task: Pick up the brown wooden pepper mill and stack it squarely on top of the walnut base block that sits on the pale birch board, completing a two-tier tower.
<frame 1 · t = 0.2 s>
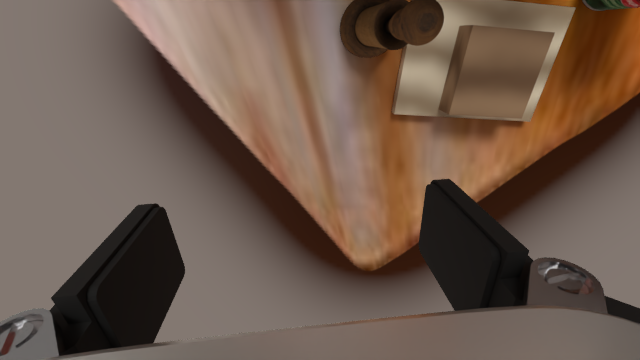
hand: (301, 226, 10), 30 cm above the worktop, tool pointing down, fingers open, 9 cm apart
birch board: (474, 63, 38), on the worktop
brown wooden pepper mill: (366, 27, 35), on the worktop
walnut base block: (484, 72, 37), point 1 cm above the worktop, touching birch board
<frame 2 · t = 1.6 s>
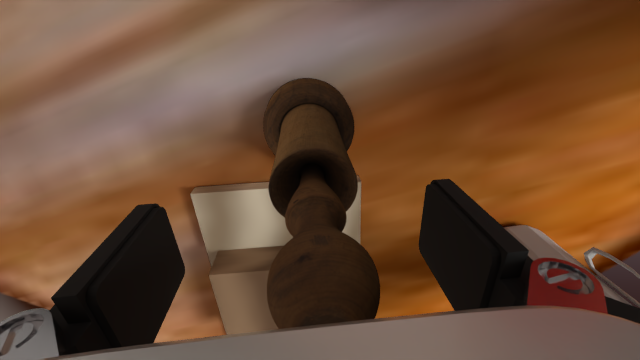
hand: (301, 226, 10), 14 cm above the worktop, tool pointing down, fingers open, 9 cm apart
birch board: (288, 268, 29), on the worktop
water bottle: (511, 242, 30), on the worktop
brown wooden pepper mill: (308, 120, 23), on the worktop
walnut base block: (279, 286, 29), point 1 cm above the worktop, touching birch board
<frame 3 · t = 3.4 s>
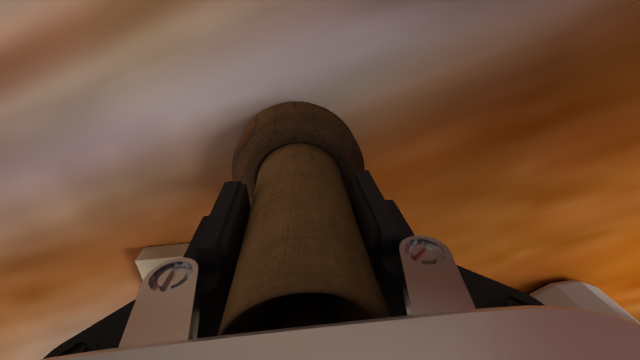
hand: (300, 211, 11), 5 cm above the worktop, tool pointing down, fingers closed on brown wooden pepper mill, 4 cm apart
birch board: (276, 339, 23), on the worktop
water bottle: (557, 298, 24), on the worktop
brown wooden pepper mill: (298, 158, 16), on the worktop, touching gripper
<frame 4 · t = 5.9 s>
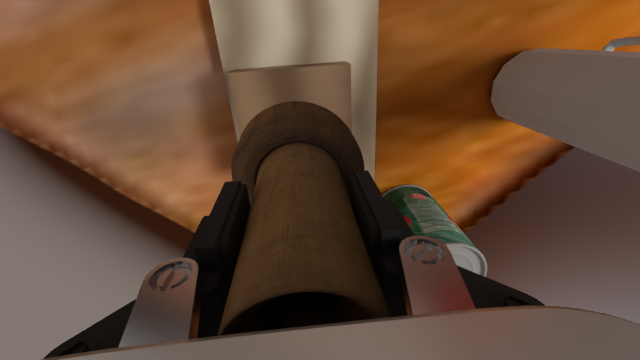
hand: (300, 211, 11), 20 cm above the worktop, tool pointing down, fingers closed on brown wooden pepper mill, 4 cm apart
canned tomato: (402, 211, 36), on the worktop
birch board: (304, 106, 29), on the worktop
water bottle: (526, 77, 30), on the worktop
brown wooden pepper mill: (298, 158, 16), point 14 cm above the worktop, touching gripper
walnut base block: (295, 119, 28), point 1 cm above the worktop, touching birch board
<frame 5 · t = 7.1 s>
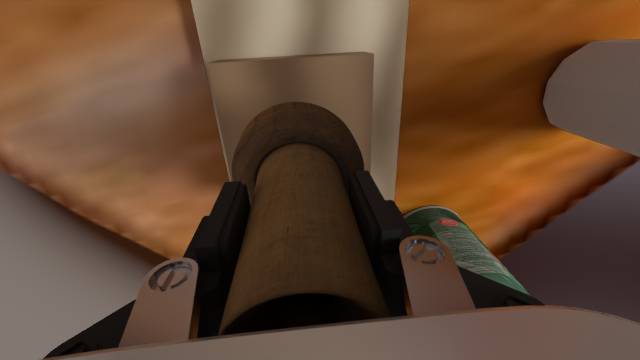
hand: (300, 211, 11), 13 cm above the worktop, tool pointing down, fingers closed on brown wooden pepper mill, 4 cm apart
canned tomato: (424, 236, 30), on the worktop
birch board: (309, 108, 23), on the worktop
water bottle: (587, 76, 24), on the worktop
brown wooden pepper mill: (298, 158, 16), point 8 cm above the worktop, touching gripper
walnut base block: (298, 126, 22), point 1 cm above the worktop, touching birch board
when the fingers open (11 cm above the worktop, at t = 8.3 s): brown wooden pepper mill stays where it is, resting on walnut base block.
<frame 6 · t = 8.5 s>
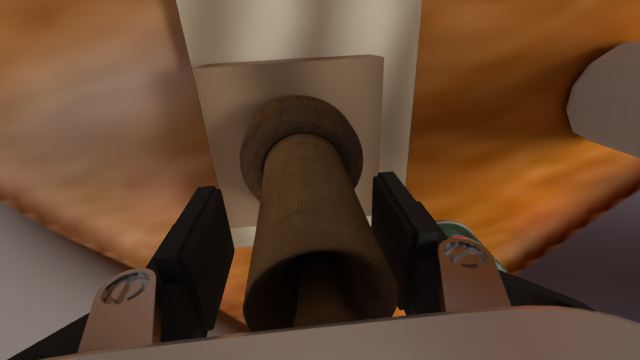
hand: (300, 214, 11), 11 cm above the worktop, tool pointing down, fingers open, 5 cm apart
canned tomato: (433, 253, 28), on the worktop
birch board: (309, 117, 21), on the worktop
water bottle: (615, 81, 22), on the worktop
brown wooden pepper mill: (300, 149, 17), point 4 cm above the worktop, touching walnut base block
walnut base block: (297, 137, 20), point 1 cm above the worktop, touching birch board, brown wooden pepper mill
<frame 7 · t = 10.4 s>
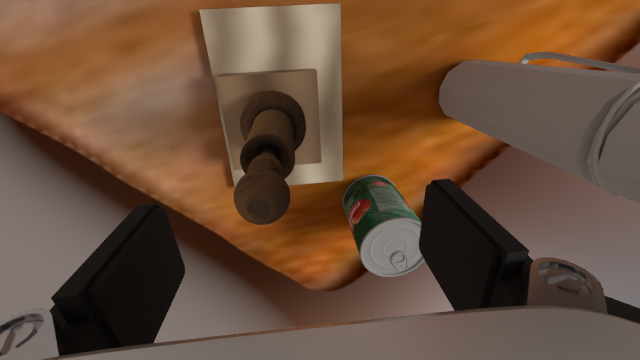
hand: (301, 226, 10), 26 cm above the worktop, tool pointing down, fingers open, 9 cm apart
canned tomato: (369, 198, 41), on the worktop
birch board: (281, 105, 34), on the worktop
water bottle: (468, 83, 36), on the worktop
brown wooden pepper mill: (274, 121, 31), point 4 cm above the worktop, touching walnut base block
walnut base block: (273, 116, 33), point 1 cm above the worktop, touching birch board, brown wooden pepper mill
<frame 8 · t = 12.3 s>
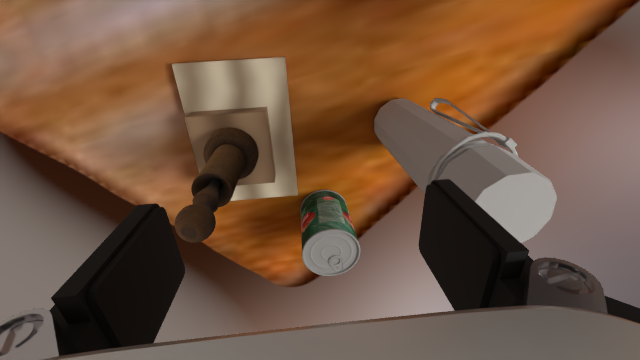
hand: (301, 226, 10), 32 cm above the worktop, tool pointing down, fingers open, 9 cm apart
canned tomato: (323, 209, 49), on the worktop
birch board: (243, 134, 42), on the worktop
water bottle: (400, 116, 43), on the worktop
brown wooden pepper mill: (233, 150, 38), point 4 cm above the worktop, touching walnut base block
walnut base block: (236, 144, 41), point 1 cm above the worktop, touching birch board, brown wooden pepper mill
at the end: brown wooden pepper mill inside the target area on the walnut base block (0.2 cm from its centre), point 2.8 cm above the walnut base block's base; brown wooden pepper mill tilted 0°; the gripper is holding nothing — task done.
